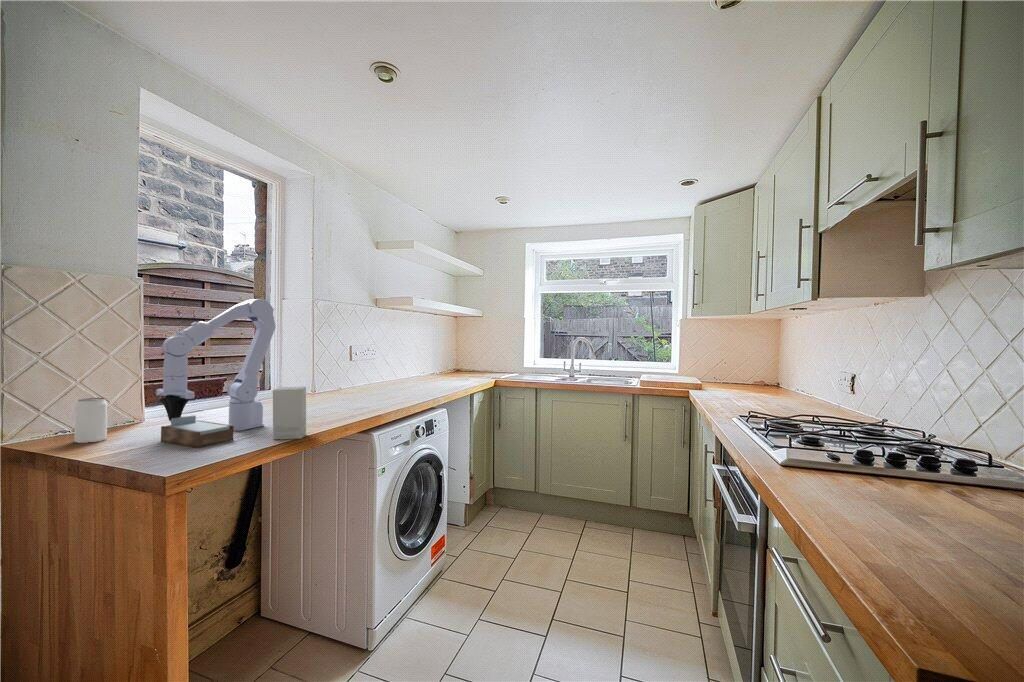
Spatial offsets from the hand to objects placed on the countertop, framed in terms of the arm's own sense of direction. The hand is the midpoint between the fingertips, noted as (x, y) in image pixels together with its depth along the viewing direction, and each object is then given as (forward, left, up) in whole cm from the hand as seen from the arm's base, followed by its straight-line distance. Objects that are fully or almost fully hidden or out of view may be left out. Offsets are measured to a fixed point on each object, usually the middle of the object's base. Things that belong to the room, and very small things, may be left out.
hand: (174, 420), depth 125 cm
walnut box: (0, +11, -5) cm, 12 cm away
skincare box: (-15, +30, -5) cm, 34 cm away
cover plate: (0, +11, -2) cm, 11 cm away
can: (+13, -14, -5) cm, 20 cm away
